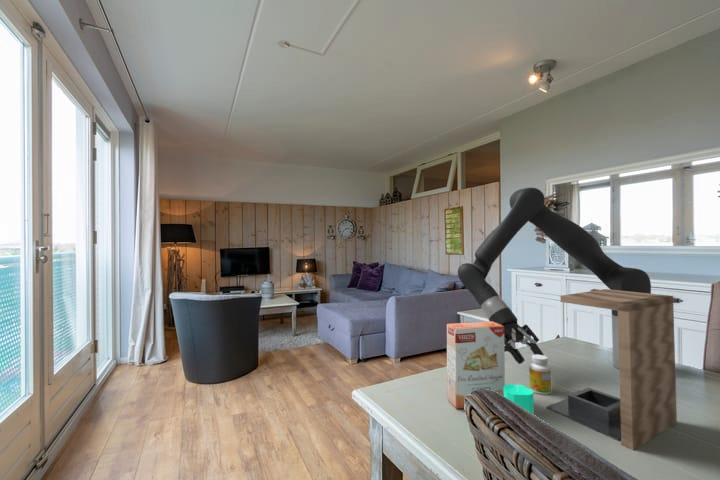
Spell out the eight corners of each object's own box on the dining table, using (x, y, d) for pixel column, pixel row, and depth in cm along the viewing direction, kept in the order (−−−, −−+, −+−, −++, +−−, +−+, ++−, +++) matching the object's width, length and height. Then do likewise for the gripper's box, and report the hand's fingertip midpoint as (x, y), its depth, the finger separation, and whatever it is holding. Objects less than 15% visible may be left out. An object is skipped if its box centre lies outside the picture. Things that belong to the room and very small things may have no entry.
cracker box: (456, 410, 84) (455, 328, 84) (446, 399, 90) (445, 323, 90) (507, 405, 87) (505, 325, 87) (493, 394, 92) (492, 320, 93)
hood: (608, 398, 89) (605, 289, 89) (676, 423, 76) (673, 295, 77) (563, 418, 80) (560, 295, 80) (632, 449, 67) (628, 304, 68)
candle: (538, 447, 69) (537, 389, 69) (508, 444, 70) (506, 387, 70) (530, 430, 75) (528, 377, 75) (501, 428, 76) (500, 376, 76)
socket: (582, 394, 92) (582, 379, 92) (654, 420, 78) (653, 404, 78) (546, 408, 85) (545, 392, 85) (618, 440, 70) (617, 422, 70)
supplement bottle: (525, 387, 97) (525, 354, 97) (543, 386, 97) (542, 353, 97) (537, 395, 92) (536, 360, 92) (555, 394, 92) (554, 359, 92)
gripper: (489, 309, 101) (523, 357, 91) (520, 304, 108) (555, 349, 98) (476, 322, 106) (507, 370, 96) (506, 317, 113) (539, 361, 102)
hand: (531, 359), depth 97 cm, fingers open, 8 cm apart
